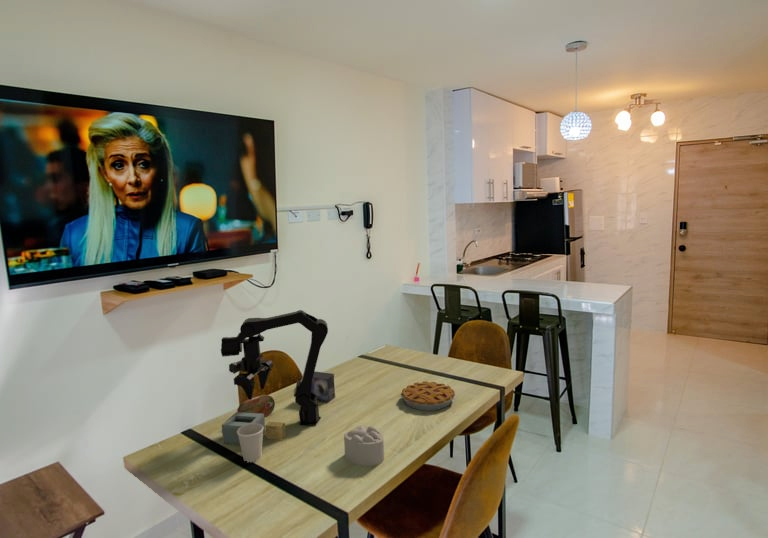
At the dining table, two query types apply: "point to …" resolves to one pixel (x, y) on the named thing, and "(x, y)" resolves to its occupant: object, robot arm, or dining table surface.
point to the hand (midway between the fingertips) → (256, 394)
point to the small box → (323, 386)
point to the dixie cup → (251, 441)
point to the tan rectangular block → (275, 430)
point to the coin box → (239, 425)
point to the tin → (258, 405)
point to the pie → (428, 396)
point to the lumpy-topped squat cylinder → (364, 446)
